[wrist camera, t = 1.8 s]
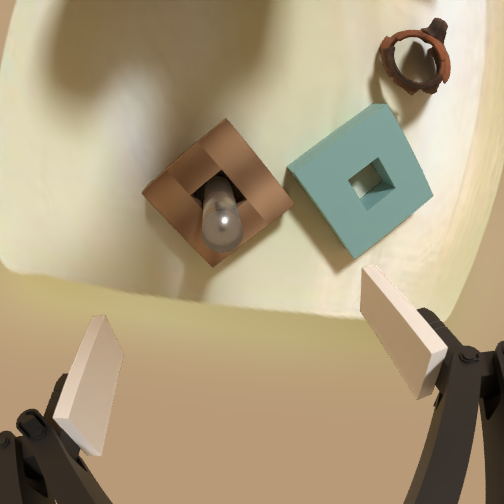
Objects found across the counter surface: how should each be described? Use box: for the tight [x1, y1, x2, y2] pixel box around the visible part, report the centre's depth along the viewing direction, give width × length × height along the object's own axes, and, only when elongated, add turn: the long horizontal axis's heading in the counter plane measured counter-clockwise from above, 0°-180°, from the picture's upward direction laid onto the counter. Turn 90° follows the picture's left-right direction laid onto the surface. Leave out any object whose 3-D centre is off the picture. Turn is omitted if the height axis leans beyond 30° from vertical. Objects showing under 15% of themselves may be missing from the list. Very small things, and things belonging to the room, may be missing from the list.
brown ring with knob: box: [380, 18, 451, 95], centre depth 30 cm, size 12×10×8 cm
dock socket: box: [287, 103, 433, 259], centre depth 38 cm, size 14×14×4 cm
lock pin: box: [202, 176, 243, 253], centre depth 31 cm, size 3×3×14 cm
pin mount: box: [142, 118, 295, 267], centre depth 36 cm, size 12×12×4 cm
